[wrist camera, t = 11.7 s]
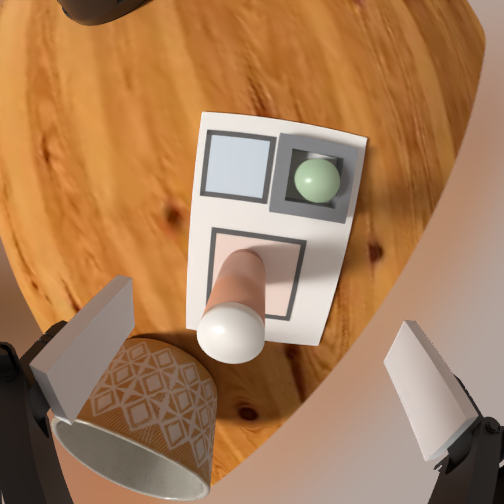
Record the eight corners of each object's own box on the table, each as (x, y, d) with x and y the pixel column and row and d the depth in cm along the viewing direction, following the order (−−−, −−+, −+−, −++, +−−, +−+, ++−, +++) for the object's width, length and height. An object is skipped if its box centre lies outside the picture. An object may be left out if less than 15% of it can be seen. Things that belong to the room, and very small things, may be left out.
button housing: (268, 206, 26) (268, 211, 24) (279, 134, 24) (280, 132, 22) (338, 218, 26) (345, 224, 24) (350, 148, 24) (358, 148, 22)
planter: (147, 299, 31) (78, 397, 16) (254, 390, 35) (247, 493, 20) (87, 361, 36) (38, 431, 21) (174, 427, 40) (152, 502, 25)
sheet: (187, 325, 32) (185, 328, 31) (203, 112, 24) (201, 111, 23) (317, 342, 32) (318, 346, 31) (364, 138, 24) (367, 137, 23)
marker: (221, 283, 29) (196, 357, 18) (225, 244, 28) (197, 304, 16) (262, 289, 29) (259, 367, 18) (268, 250, 28) (270, 315, 16)
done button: (290, 194, 24) (293, 198, 22) (296, 155, 23) (300, 154, 21) (329, 201, 24) (335, 206, 22) (336, 162, 23) (343, 163, 21)
